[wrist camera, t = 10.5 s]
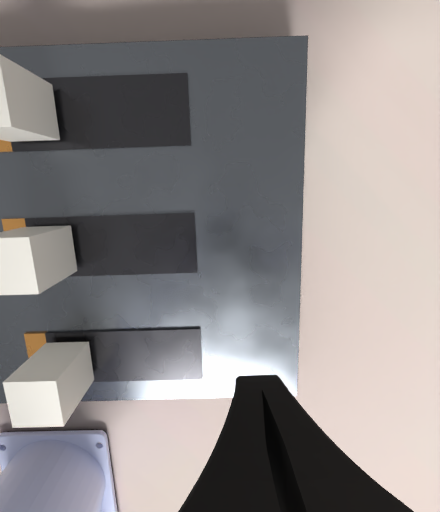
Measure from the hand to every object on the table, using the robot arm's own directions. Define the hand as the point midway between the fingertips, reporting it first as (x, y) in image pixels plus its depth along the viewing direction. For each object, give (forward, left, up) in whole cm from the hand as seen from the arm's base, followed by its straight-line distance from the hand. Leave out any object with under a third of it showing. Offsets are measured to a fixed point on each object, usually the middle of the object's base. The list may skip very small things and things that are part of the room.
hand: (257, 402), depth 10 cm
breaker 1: (+10, +10, -7) cm, 16 cm away
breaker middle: (+4, +10, -7) cm, 13 cm away
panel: (+4, +6, -10) cm, 13 cm away
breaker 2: (-3, +10, -7) cm, 12 cm away
